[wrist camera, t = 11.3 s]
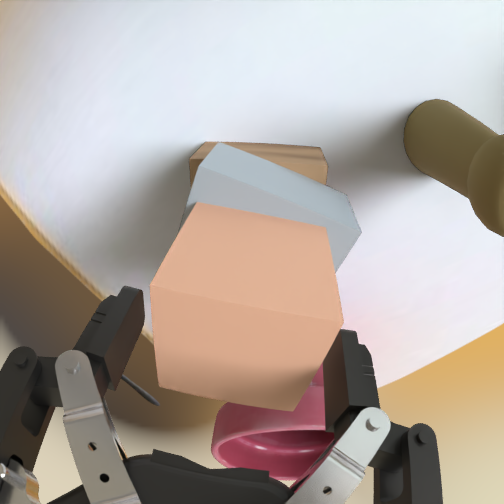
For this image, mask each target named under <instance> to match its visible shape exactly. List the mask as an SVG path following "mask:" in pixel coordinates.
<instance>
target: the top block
mask: <svg viewBox="0 0 504 504" xmlns="http://www.w3.org/2000/svg"><path fill="white" fill-rule="evenodd" d="M197 202H200V203H206V204H211V205H217V206H222V207H228V208H233V209H238V210H244V211H249V212H254V213H259V214H264V215H269V216H274V217H279V218H284V219H289V220H294V221H299V222H303V223H308V224H313V225H317V226H322V227H326V230H327V235H328V239H329V244H330V249H331V254H332V259H333V264H334V269H335V273H336V271H337V270H338V268H339V267H340V265H341V264H342V262H343V261H344V259H345V258H346V256H347V255H348V253H349V252H350V250H351V248H352V247H353V245H354V244H355V242H356V241H357V239H358V238H359V236H360V234H361V233H362V232H361V229H360V227H359V224H358V222H357V219H356V217H355V214H354V212H353V209H352V207H351V205H350V202H349V200H348V198H347V195H346V194H343V193H341V192H339V191H337V190H335V189H333V188H330V187H328V186H326V185H324V184H322V183H319V182H317V181H315V180H313V179H310V178H308V177H306V176H304V175H301V174H299V173H297V172H294V171H292V170H289V169H287V168H285V167H282V166H280V165H277V164H275V163H273V162H270V161H268V160H265V159H263V158H260V157H258V156H255V155H253V154H250V153H247V152H245V151H242V150H240V149H237V148H234V147H232V146H229V145H226V144H223V143H221V142H218V143H217V145H216V146H215V147H214V148H213V149H212V150H211V152H210V153H209V154H208V155H207V156H206V158H205V159H204V160H203V161H202V162H201V164H200V165H199V167H198V170H197V173H196V176H195V179H194V182H193V185H192V188H191V192H190V195H189V198H188V201H187V204H186V208H185V211H184V214H183V218H182V221H181V225H180V228H179V231H178V233H179V232H180V230H181V228H182V226H183V225H184V223H185V221H186V220H187V218H188V216H189V214H190V213H191V211H192V209H193V208H194V206H195V204H196V203H197Z"/></svg>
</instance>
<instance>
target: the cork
mask: <svg viewBox="0 0 504 504" xmlns="http://www.w3.org/2000/svg"><path fill="white" fill-rule="evenodd" d="M404 145H405V149H406V153H407V155H408V157H409V159H410V161H411V162H412V164H413V165H414V166H415V167H416V168H417V169H418V170H420V171H421V172H423V173H425V174H427V175H429V176H430V177H432V178H434V179H436V180H438V181H439V182H441V183H443V184H445V185H446V186H448V187H450V188H452V189H453V190H455V191H457V192H458V193H460V194H462V195H463V196H465V197H467V198H468V199H469V200H470V203H471V205H472V208H473V210H474V212H475V214H476V215H477V217H478V218H479V219H480V220H481V222H482V223H483V224H484V225H485V226H486V227H487V229H489V230H491V231H493V232H495V233H497V234H499V235H500V236H502V237H504V134H503V135H498V134H496V133H495V132H494V131H492V130H491V129H490V128H488V127H487V126H485V125H484V124H483V123H481V122H480V121H478V120H477V119H475V118H474V117H472V116H471V115H469V114H468V113H466V112H465V111H463V110H462V109H460V108H458V107H457V106H455V105H453V104H452V103H450V102H448V101H445V100H439V99H434V100H429V101H425V102H424V103H422V104H421V105H419V106H417V107H416V108H415V109H414V111H413V112H412V113H411V115H410V116H409V118H408V120H407V123H406V126H405V129H404Z"/></svg>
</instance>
